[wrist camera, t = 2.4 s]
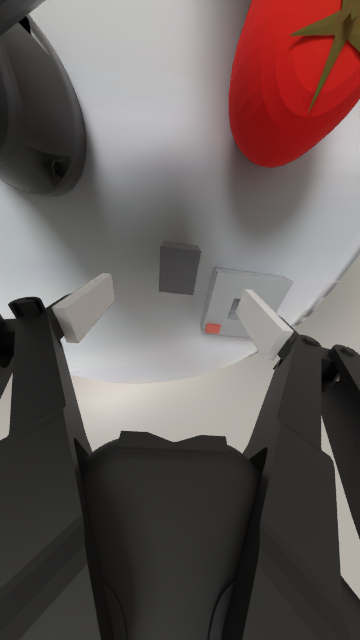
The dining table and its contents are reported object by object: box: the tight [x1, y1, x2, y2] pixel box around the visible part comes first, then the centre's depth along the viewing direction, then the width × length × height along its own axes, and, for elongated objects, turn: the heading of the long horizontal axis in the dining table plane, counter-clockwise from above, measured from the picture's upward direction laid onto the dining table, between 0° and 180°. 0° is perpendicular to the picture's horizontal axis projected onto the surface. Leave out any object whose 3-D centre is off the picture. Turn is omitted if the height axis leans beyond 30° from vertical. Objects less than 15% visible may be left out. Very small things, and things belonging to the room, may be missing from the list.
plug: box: [159, 242, 201, 295], centre depth 23 cm, size 6×5×9 cm
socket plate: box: [200, 268, 293, 338], centre depth 31 cm, size 14×14×4 cm
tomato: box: [229, 0, 360, 167], centre depth 13 cm, size 12×12×10 cm
